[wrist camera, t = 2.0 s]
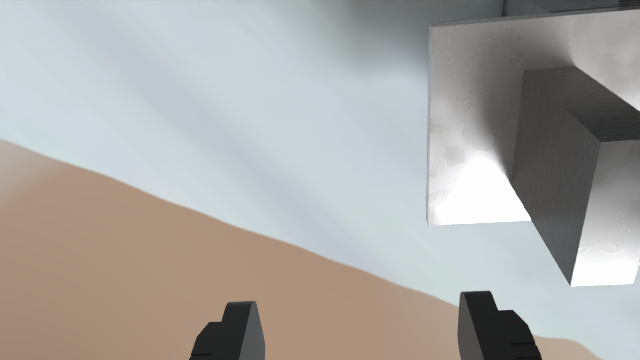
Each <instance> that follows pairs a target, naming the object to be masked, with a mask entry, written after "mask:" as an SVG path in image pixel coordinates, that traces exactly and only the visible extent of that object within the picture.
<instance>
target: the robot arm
mask: <svg viewBox="0 0 640 360" xmlns="http://www.w3.org/2000/svg"><path fill="white" fill-rule="evenodd" d="M458 345H459V352H460V356H461V360H542V358H541V354H540V352H539V350H538V347H537V346H536V345H535V341H534V338H533V336H532V334H531V331H530V329H529V327H528V325H527V324H526V323H525V322H524V321H523V320H522V319H521V318H520V317H519V316H518V315H517V314H516V313H515V312H514V311H513V310H500V311H498V309H497V306H496V304H495V301H494V298H493V296H492V294H491V292H490V291H470V292H461V294H460V303H459V319H458ZM189 360H265V342H264V336H263V332H262V327H261V322H260V318H259V313H258V309H257V304H256V302H255V301H244V302H228V303H227V305H226V308H225V311H224V315H223V318H222V321H221V322H209V323H208V325H206V327H205V328H204V329H203V330H202V331H201V333H200V334H199V335H198V336H197V338H196V341H195V344H194V347H193V350H192V353H191V357H190V359H189Z"/></svg>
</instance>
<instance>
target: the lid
mask: <svg viewBox="0 0 640 360" xmlns="http://www.w3.org/2000/svg"><path fill="white" fill-rule="evenodd" d="M426 219H427V223H428V225H445V224H464V223H483V222H502V221H521V220H532V222H533V224H534V225H535V227H536V229H537V231H538V232H539V234H540V236H541V237H542V239H543V241H544V242H545V244H546V246H547V247H548V249H549V251H550V253H551V254H552V256H553V258H554V259H555V261H556V263H557V264H558V266H559V268H560V269H561V271H562V273H563V275H564V276H565V278H566V280H567V281H568V283H569V285H570V286H590V285H614V284H633V283H634V279H635V276H636V273H637V269H638V266H639V263H640V5H636V6H624V7H613V8H601V9H590V10H578V11H567V12H556V13H544V14H533V15H521V16H510V17H498V18H487V19H475V20H464V21H453V22H441V23H430V24H429V70H428V131H427V191H426Z"/></svg>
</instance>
